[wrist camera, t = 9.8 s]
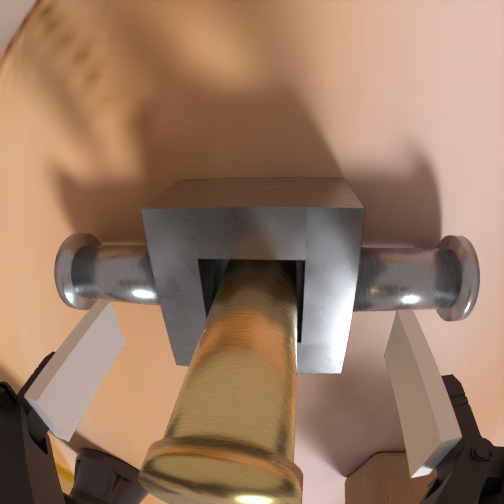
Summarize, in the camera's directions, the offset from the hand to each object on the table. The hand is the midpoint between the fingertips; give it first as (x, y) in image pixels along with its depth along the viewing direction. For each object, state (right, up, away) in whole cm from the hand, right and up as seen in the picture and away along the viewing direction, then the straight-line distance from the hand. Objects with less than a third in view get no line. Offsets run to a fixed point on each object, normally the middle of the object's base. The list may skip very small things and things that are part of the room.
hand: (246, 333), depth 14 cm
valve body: (+1, +3, +7) cm, 8 cm away
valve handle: (+1, +3, +5) cm, 6 cm away
